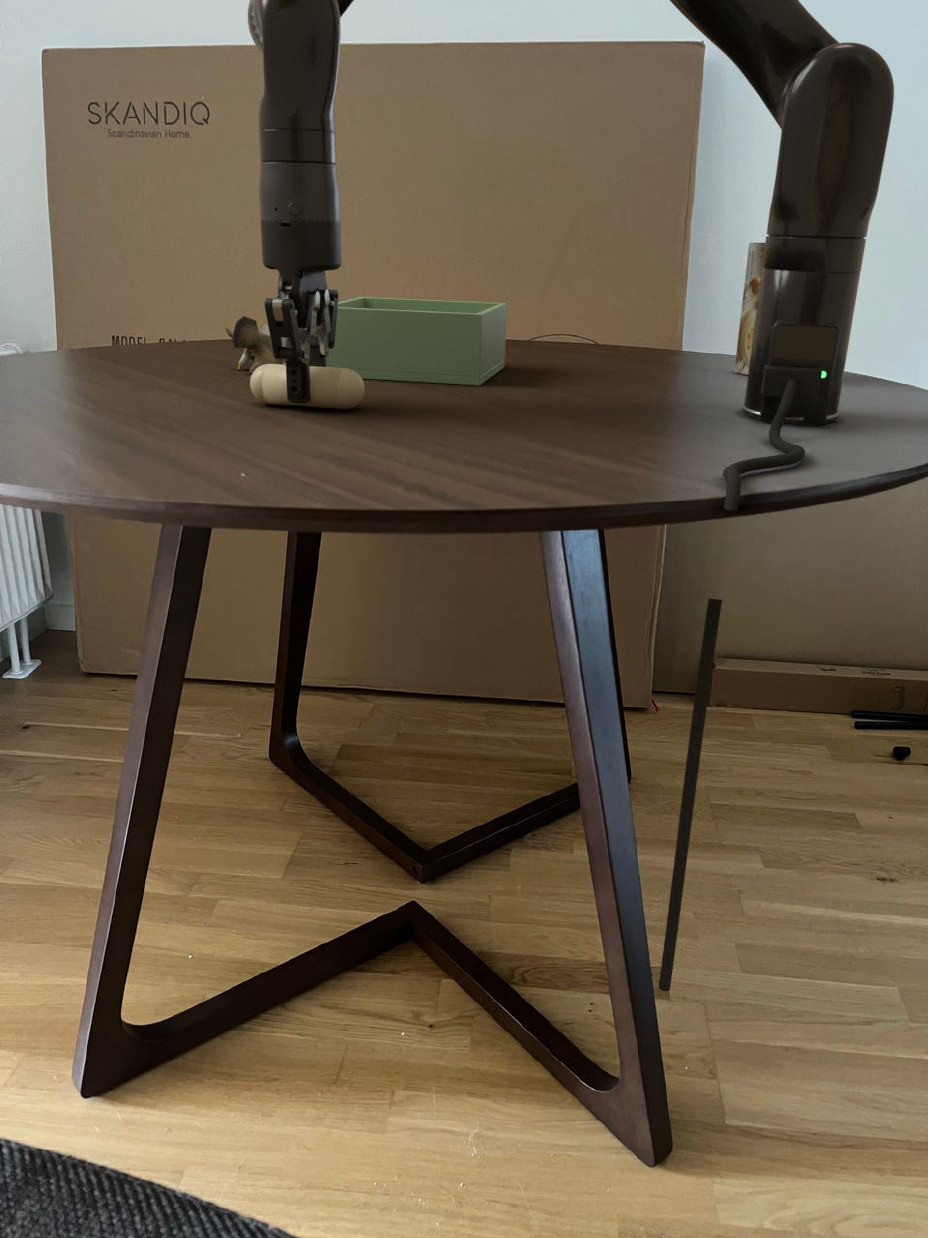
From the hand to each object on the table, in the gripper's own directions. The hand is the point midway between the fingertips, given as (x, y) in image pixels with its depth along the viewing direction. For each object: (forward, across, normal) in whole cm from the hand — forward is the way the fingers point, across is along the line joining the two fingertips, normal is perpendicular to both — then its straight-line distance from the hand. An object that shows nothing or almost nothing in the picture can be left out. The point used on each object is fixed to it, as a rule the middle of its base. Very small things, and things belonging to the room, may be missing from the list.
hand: (307, 397), depth 101 cm
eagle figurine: (+1, -21, -15) cm, 26 cm away
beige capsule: (+1, 0, 0) cm, 1 cm away
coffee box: (+1, -40, +48) cm, 62 cm away
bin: (+1, -27, +4) cm, 27 cm away
